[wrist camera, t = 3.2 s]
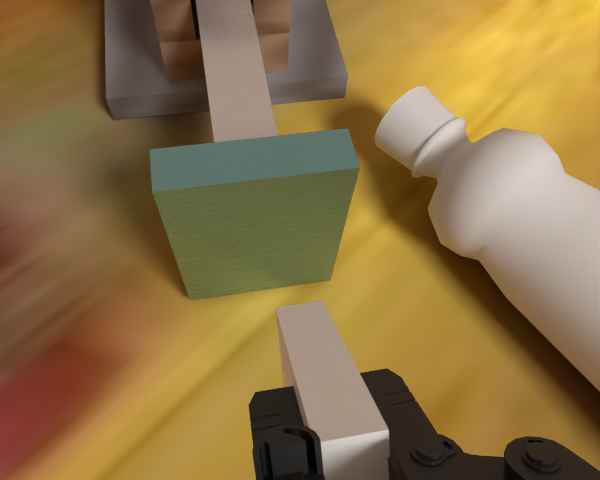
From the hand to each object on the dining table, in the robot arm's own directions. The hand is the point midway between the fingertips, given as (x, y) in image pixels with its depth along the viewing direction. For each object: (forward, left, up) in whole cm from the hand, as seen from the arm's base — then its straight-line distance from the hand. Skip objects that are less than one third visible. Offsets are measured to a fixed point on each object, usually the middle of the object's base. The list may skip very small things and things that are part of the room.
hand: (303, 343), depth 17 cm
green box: (0, +16, -12) cm, 20 cm away
